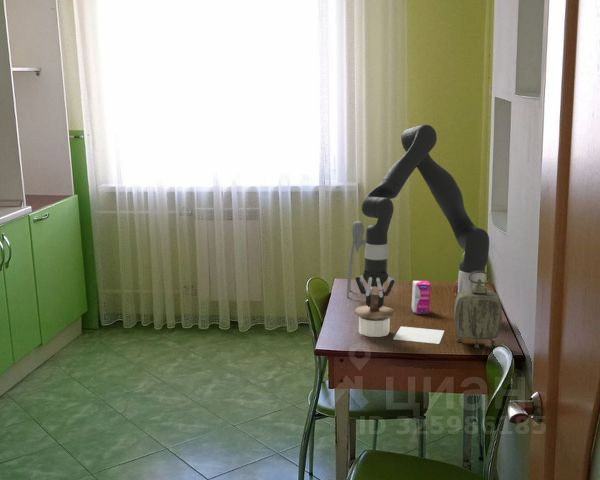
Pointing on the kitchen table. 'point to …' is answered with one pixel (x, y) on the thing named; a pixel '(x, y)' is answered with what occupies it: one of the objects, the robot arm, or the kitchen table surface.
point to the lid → (374, 309)
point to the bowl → (374, 327)
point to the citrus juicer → (357, 242)
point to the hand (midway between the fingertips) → (374, 306)
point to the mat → (419, 335)
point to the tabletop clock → (478, 312)
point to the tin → (455, 289)
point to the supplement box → (420, 297)
